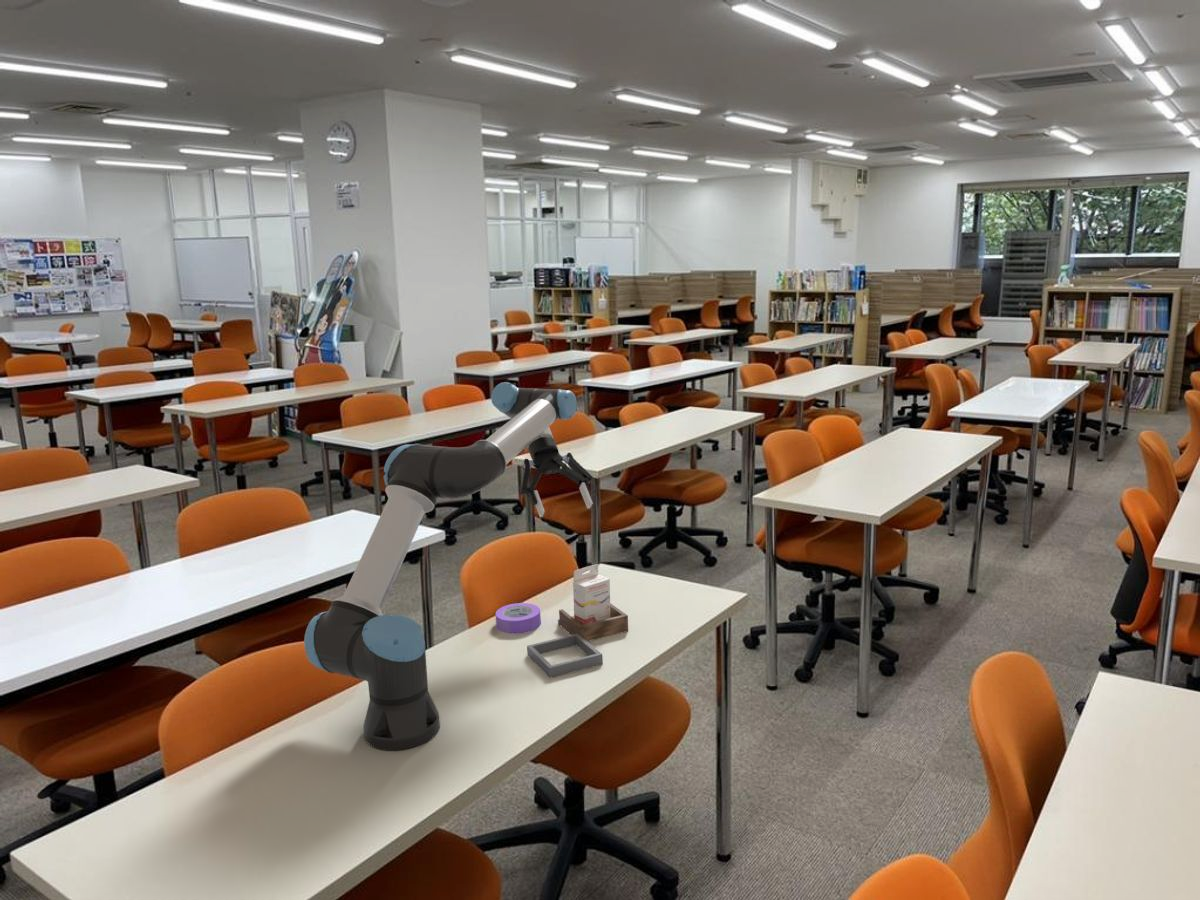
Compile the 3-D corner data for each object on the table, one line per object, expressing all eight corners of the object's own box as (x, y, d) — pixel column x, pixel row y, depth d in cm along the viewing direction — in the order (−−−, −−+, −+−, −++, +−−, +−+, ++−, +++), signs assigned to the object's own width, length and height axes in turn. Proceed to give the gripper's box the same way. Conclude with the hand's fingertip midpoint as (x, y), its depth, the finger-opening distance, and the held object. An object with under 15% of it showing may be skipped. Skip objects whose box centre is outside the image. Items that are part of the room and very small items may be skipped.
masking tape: (488, 631, 223) (487, 617, 222) (507, 614, 234) (506, 600, 233) (530, 636, 220) (529, 622, 219) (547, 618, 230) (547, 604, 230)
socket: (550, 678, 197) (549, 668, 196) (527, 655, 209) (526, 645, 208) (602, 664, 203) (602, 654, 202) (577, 642, 214) (577, 633, 214)
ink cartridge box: (585, 630, 218) (583, 575, 215) (573, 624, 222) (571, 570, 219) (611, 621, 224) (610, 567, 220) (599, 615, 227) (597, 562, 224)
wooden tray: (580, 643, 214) (579, 627, 213) (558, 623, 226) (557, 608, 225) (628, 631, 220) (627, 615, 219) (604, 612, 232) (603, 598, 231)
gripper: (578, 445, 242) (605, 509, 232) (494, 457, 231) (518, 525, 221) (586, 429, 236) (613, 495, 226) (500, 441, 225) (525, 510, 215)
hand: (566, 510), depth 223 cm, fingers open, 13 cm apart
